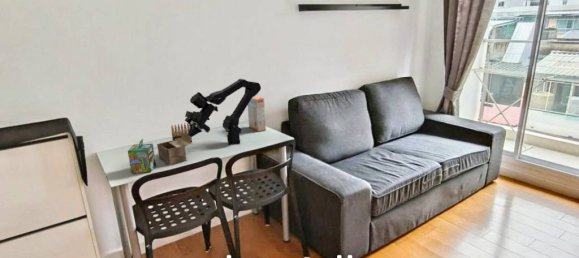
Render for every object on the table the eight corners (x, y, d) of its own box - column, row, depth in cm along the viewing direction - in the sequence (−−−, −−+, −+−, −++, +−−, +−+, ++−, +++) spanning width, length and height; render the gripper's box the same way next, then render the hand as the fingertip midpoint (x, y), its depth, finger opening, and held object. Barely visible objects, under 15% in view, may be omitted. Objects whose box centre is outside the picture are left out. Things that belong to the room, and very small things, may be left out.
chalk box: (137, 166, 168) (132, 137, 164) (156, 165, 169) (152, 136, 165) (130, 174, 160) (125, 143, 155) (151, 172, 160) (146, 142, 156)
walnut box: (176, 154, 183) (174, 139, 180) (186, 160, 173) (184, 145, 171) (159, 158, 177) (157, 144, 175) (169, 165, 168) (166, 150, 165)
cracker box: (266, 130, 218) (264, 98, 213) (257, 132, 216) (255, 99, 210) (257, 125, 230) (254, 94, 224) (248, 127, 227) (246, 96, 221)
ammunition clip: (173, 145, 197) (170, 125, 194) (172, 144, 199) (170, 124, 195) (192, 142, 201) (189, 122, 198) (191, 141, 203) (189, 121, 199)
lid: (183, 139, 183) (182, 132, 181) (192, 144, 175) (191, 136, 173) (169, 143, 178) (168, 135, 177) (177, 148, 170) (176, 140, 169)
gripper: (186, 102, 184) (168, 126, 180) (202, 107, 170) (183, 133, 166) (201, 114, 191) (184, 137, 187) (217, 119, 177) (200, 145, 173)
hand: (187, 138), depth 178 cm, fingers closed, pressing on lid
